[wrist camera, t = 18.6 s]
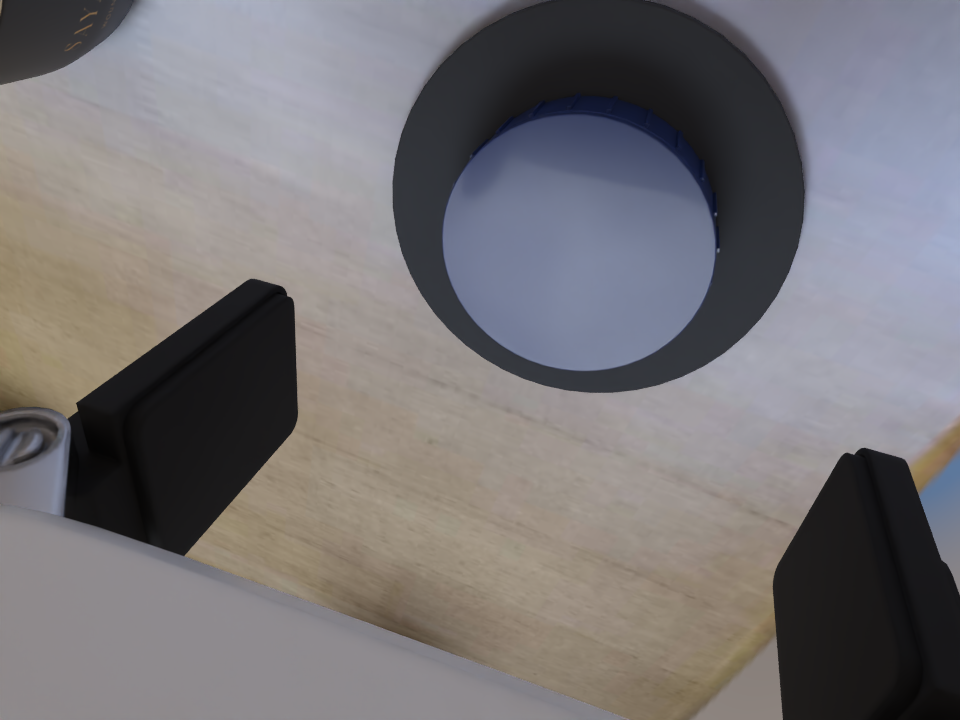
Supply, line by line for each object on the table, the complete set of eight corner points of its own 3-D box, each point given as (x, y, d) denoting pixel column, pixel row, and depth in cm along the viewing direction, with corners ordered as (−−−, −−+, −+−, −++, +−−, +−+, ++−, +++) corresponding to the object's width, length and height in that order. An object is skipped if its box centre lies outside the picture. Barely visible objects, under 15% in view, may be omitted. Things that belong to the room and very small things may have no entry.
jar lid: (502, 52, 16) (479, 65, 15) (770, 151, 16) (778, 176, 14) (437, 285, 20) (414, 316, 19) (650, 370, 20) (645, 409, 18)
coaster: (884, 40, 15) (889, 43, 14) (719, 423, 21) (719, 432, 20) (410, -42, 16) (403, -41, 16) (389, 335, 23) (383, 343, 22)
